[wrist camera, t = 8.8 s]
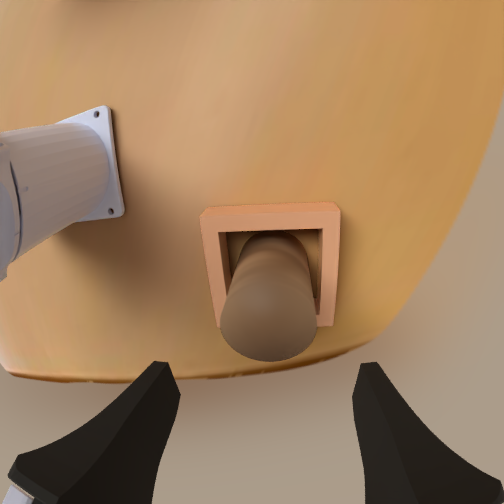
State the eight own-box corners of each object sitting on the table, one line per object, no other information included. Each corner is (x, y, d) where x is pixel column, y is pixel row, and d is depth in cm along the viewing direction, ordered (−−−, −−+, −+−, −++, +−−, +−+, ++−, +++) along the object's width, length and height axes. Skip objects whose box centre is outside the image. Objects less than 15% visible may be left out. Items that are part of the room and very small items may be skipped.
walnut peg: (242, 290, 20) (226, 360, 14) (237, 230, 19) (213, 287, 12) (306, 289, 20) (313, 361, 14) (307, 228, 18) (319, 285, 12)
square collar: (222, 311, 21) (217, 327, 19) (207, 207, 18) (199, 216, 16) (329, 309, 20) (333, 325, 19) (334, 202, 17) (340, 211, 15)
